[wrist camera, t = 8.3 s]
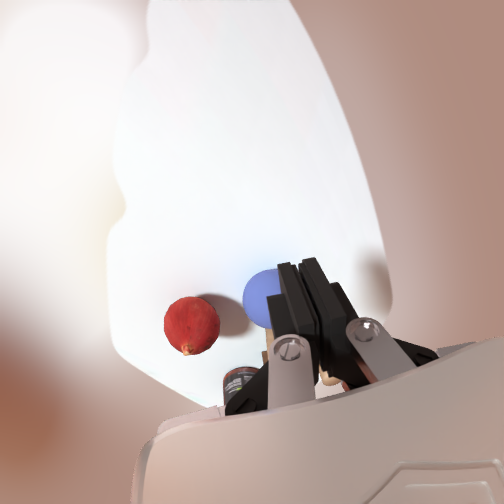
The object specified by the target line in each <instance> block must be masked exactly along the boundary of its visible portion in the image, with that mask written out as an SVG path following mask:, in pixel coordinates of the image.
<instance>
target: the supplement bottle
mask: <svg viewBox="0 0 504 504" xmlns="http://www.w3.org/2000/svg"><path fill="white" fill-rule="evenodd" d="M257 372H258V370H256V369H254V368H248V367H243V368H237V369H234V370H232V371H230V372H228V373H227V374H226V375H225V377H224V380H223V394H224V405H226V404H227V403H228V401H229V400H230V399H231V398H232V397H233V396H234V395H235V394H236V393H237V392H238V391H239V390H240V389H241V388H242V387H243V386H244V385H245V384H246V383H247V382H248V381H249V380H250V379H251V378H252V377H253V376H254V375H255V374H256V373H257Z"/></svg>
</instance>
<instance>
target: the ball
mask: <svg viewBox="0 0 504 504" xmlns="http://www.w3.org/2000/svg"><path fill="white" fill-rule="evenodd" d="M276 294H281V290H280V282H279V275H278V270H265V271H262V272H260V273H258V274H256V275H255V276H253V277H252V278H251V279H250V280H249V282H248V283H247V285H246V287H245V289H244V293H243V307H244V309H245V312H246V314H247V316H248V317H249V318H250V319H251V320H252V321H253V322H254V323H255V324H257V325H258V326H261V327H263V328H267V329H272V327H271V322H270V316H269V311H268V305H267V299H266V296H271V295H276Z"/></svg>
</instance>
